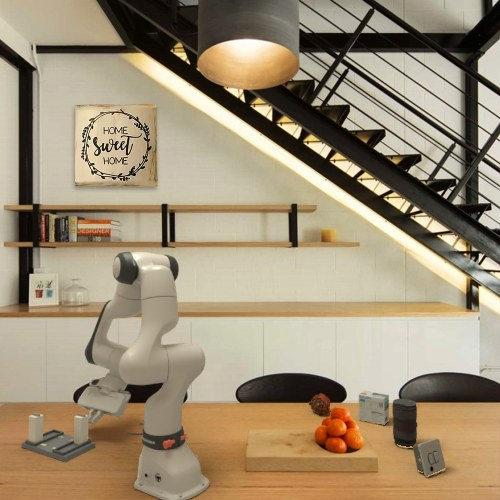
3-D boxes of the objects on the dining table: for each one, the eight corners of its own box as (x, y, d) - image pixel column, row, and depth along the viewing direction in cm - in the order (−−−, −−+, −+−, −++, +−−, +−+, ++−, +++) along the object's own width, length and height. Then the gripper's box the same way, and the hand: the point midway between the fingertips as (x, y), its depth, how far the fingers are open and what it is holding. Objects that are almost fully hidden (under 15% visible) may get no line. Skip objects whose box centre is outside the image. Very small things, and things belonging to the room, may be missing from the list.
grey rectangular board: (95, 447, 145) (95, 440, 145) (65, 461, 135) (65, 454, 135) (52, 434, 155) (52, 428, 156) (21, 447, 145) (21, 440, 145)
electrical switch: (427, 479, 126) (424, 446, 126) (412, 473, 130) (410, 441, 131) (446, 471, 130) (444, 440, 131) (432, 465, 135) (429, 435, 136)
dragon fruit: (321, 422, 172) (316, 415, 184) (337, 409, 173) (331, 403, 185) (308, 404, 174) (304, 399, 185) (325, 392, 174) (320, 387, 186)
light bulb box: (389, 421, 170) (389, 394, 170) (385, 426, 165) (385, 398, 165) (363, 415, 176) (363, 389, 176) (358, 420, 170) (358, 393, 170)
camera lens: (396, 437, 154) (396, 396, 154) (419, 443, 149) (419, 401, 150) (389, 445, 148) (389, 402, 148) (413, 452, 143) (413, 407, 143)
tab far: (42, 441, 146) (43, 413, 146) (35, 444, 143) (35, 415, 143) (36, 439, 147) (36, 411, 148) (28, 442, 145) (28, 414, 145)
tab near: (88, 441, 145) (88, 413, 146) (80, 445, 143) (81, 416, 143) (80, 439, 147) (81, 411, 147) (73, 443, 144) (74, 414, 145)
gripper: (137, 396, 155) (116, 433, 146) (97, 388, 165) (75, 421, 156) (128, 387, 151) (107, 424, 142) (88, 379, 161) (65, 413, 152)
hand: (90, 423), depth 149 cm, fingers closed
